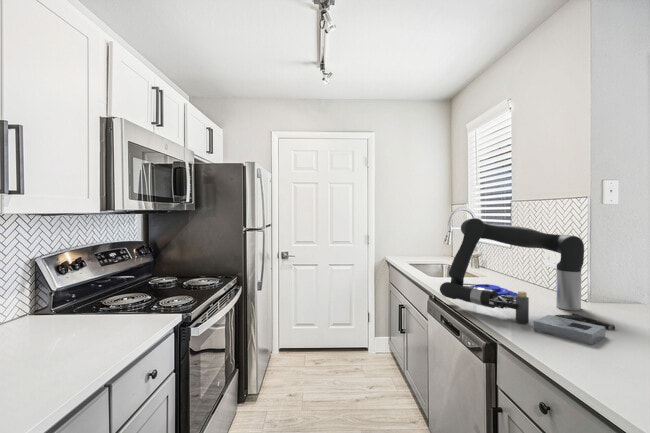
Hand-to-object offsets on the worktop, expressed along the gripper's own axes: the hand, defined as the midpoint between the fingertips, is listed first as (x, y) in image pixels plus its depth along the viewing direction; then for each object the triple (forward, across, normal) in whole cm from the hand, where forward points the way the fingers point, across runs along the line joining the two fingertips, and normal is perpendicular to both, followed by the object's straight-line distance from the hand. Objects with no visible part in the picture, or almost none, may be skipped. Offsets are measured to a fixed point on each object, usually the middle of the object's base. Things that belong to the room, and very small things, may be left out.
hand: (523, 305), depth 139 cm
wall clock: (-34, +36, +8) cm, 51 cm away
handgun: (+15, +18, +8) cm, 24 cm away
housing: (+16, 0, +7) cm, 17 cm away
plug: (0, 0, +7) cm, 7 cm away
